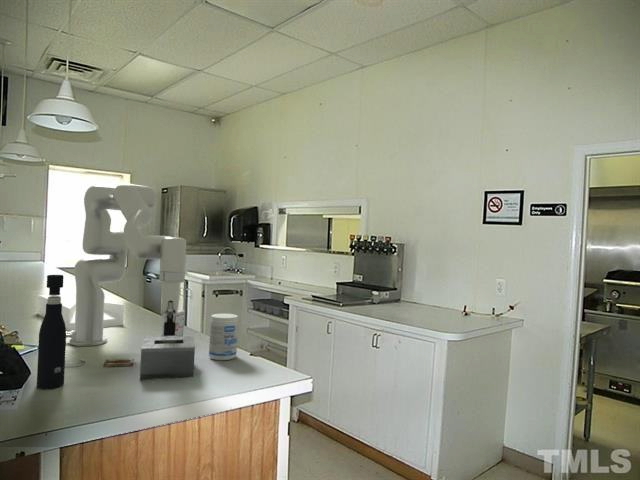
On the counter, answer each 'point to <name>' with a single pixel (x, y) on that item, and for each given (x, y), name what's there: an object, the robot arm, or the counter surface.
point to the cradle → (118, 362)
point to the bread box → (111, 311)
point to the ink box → (177, 323)
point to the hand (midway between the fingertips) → (169, 331)
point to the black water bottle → (52, 339)
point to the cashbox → (167, 357)
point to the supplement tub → (223, 336)
